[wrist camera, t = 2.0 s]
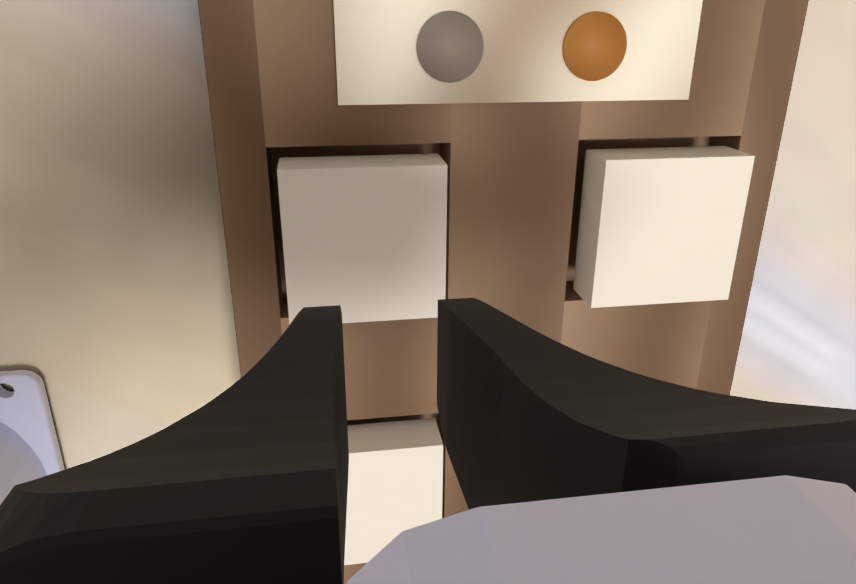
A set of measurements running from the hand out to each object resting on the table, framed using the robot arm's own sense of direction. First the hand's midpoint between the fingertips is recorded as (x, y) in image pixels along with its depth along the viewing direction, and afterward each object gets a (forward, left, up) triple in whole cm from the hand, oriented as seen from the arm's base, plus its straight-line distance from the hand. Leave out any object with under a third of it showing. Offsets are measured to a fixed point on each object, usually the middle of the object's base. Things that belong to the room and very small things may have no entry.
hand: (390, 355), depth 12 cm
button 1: (0, -8, -7) cm, 11 cm away
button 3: (0, 0, -7) cm, 7 cm away
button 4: (+8, 0, -7) cm, 11 cm away
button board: (+4, -3, -10) cm, 12 cm away
